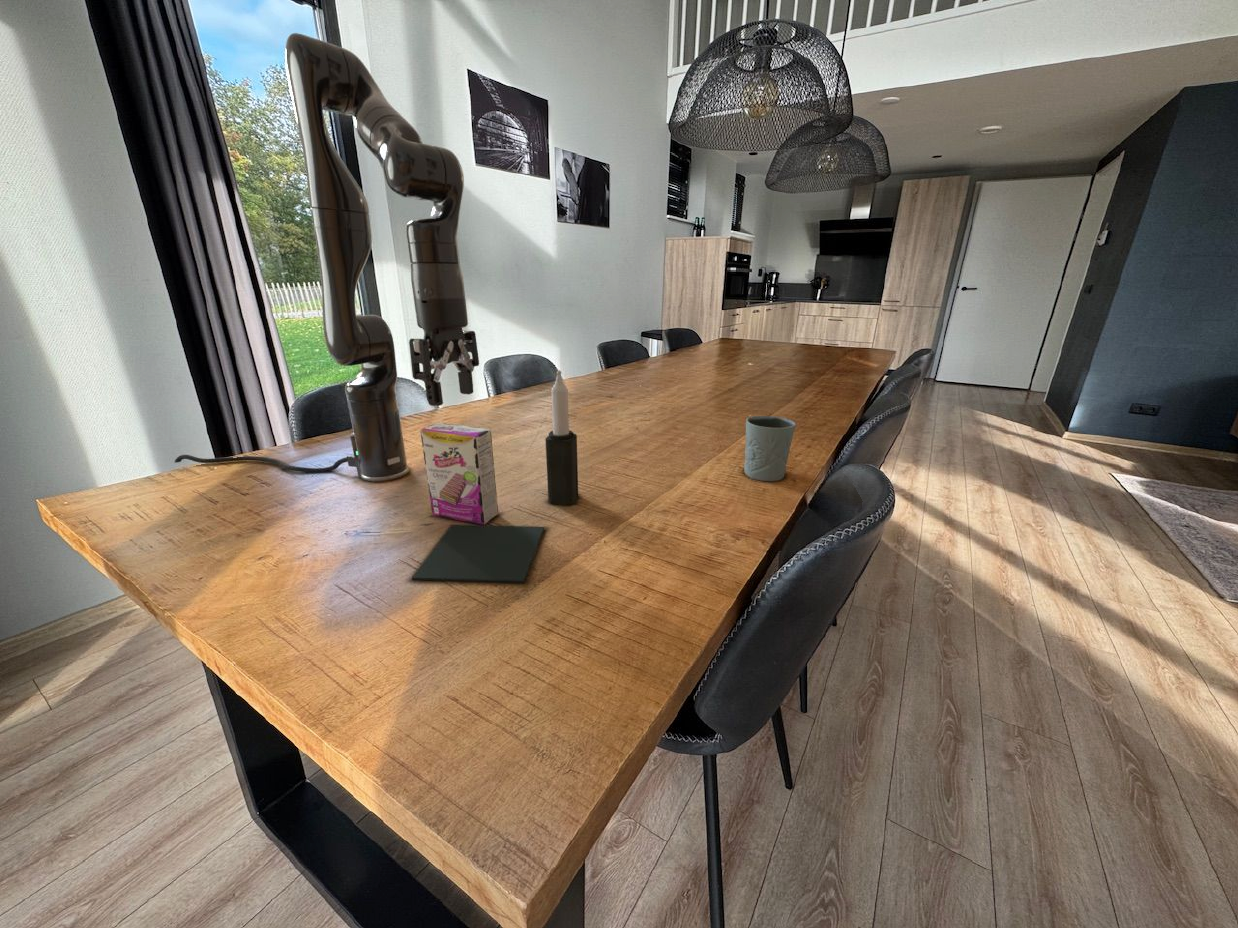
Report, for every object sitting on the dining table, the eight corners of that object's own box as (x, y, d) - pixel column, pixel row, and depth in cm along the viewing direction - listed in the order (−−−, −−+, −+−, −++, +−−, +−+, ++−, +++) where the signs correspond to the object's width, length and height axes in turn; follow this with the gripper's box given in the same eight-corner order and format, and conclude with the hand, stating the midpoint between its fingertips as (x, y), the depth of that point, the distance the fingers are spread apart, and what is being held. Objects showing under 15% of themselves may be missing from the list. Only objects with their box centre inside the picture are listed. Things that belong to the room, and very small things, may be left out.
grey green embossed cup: (737, 478, 106) (742, 424, 102) (744, 463, 115) (749, 413, 110) (786, 485, 102) (794, 430, 98) (790, 469, 111) (797, 418, 107)
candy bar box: (430, 516, 88) (417, 429, 82) (448, 505, 92) (437, 421, 87) (484, 526, 85) (474, 436, 79) (500, 514, 89) (492, 427, 83)
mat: (412, 580, 70) (411, 577, 69) (452, 526, 85) (451, 524, 84) (523, 583, 69) (523, 580, 69) (544, 528, 84) (544, 526, 84)
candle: (572, 505, 93) (568, 373, 84) (546, 503, 93) (540, 372, 85) (579, 494, 97) (576, 368, 88) (555, 492, 98) (549, 367, 89)
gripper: (446, 294, 83) (457, 389, 88) (386, 296, 70) (403, 407, 76) (486, 294, 81) (494, 392, 86) (430, 297, 68) (445, 411, 74)
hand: (452, 399), depth 81 cm, fingers open, 8 cm apart
